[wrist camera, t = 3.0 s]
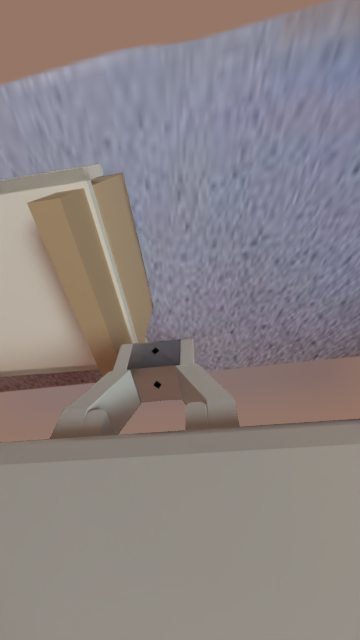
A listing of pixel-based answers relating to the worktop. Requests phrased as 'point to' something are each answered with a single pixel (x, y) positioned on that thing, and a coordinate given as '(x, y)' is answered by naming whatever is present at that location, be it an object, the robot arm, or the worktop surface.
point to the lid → (58, 278)
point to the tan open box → (125, 248)
